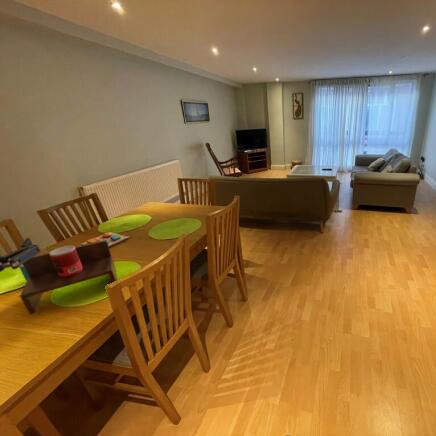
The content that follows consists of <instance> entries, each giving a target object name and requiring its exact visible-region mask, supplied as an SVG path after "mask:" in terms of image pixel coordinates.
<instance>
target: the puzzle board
mask: <svg viewBox="0 0 436 436" xmlns="http://www.w3.org/2000/svg"><path fill="white" fill-rule="evenodd" d="M128 239H130V236H129V235H127V236H126V235H122V234H120V233H117V232H116V233H115V232H112V231H109V232H105V233H102V235H99V236H97V237H92V238H90V239H87V240H86V241H84V242H82V243H80V246H81V245H86V244H90V243H95V242H99V241H104V240H106V241H107V244H108V247H109V248H111V247H112V246H115V245H117V244H119V243H121V242H123V241H126V240H128Z"/></svg>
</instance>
